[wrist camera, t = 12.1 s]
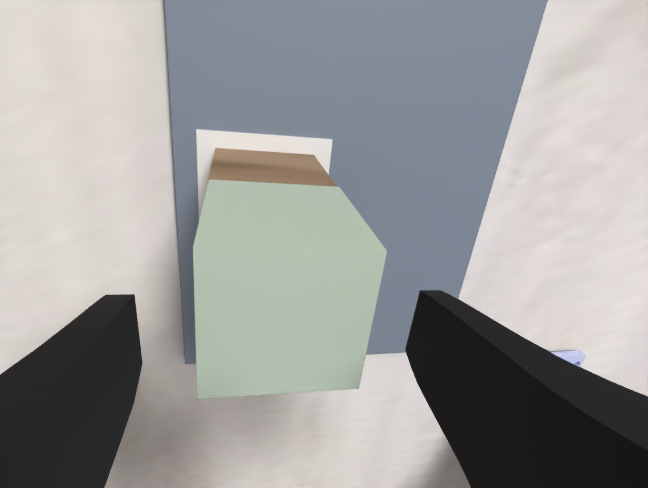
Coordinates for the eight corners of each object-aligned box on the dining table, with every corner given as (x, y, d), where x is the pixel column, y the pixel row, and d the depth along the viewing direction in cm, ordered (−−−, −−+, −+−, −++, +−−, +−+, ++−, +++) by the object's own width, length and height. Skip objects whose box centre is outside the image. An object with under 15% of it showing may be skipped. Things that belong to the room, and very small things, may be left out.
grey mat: (438, 344, 26) (443, 351, 25) (186, 356, 22) (184, 364, 22) (540, -7, 18) (551, -9, 17) (162, -75, 14) (159, -81, 13)
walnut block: (305, 240, 20) (324, 293, 16) (216, 238, 19) (209, 295, 15) (313, 154, 18) (338, 188, 14) (215, 147, 17) (207, 181, 13)
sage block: (324, 292, 15) (358, 388, 11) (209, 293, 14) (197, 399, 10) (339, 187, 14) (387, 251, 9) (208, 179, 13) (193, 247, 8)
